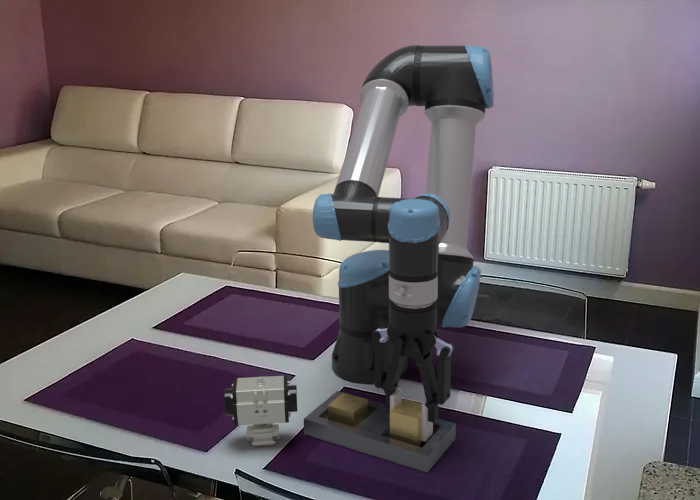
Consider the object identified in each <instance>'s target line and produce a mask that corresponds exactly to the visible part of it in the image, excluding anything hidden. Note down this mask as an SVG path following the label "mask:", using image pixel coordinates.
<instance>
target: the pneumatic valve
mask: <svg viewBox="0 0 700 500" xmlns="http://www.w3.org/2000/svg"><path fill="white" fill-rule="evenodd" d="M290 384H291V381H290V380H288V375H273V376H271V375H270V376H263V375H262V376H254V377H252V376H251V377H236V378H235V377H234V378H233V383H232V384H231V388H225V389H224V392H223V393H224V394H223V402H224V403H223V404H224V407H223V408H224V414H225V416H227V417H228V416H232V417H231V420H232V421H233V422H234V426H246V441H248V442H251V446H252V447H254V448H255V447H269V446H273V445H275V444H276V443H277V441H276V440H279V439H280V428H279V427H280V426H279V424H286V423H290V417H292V413H297V412H298V391H297V385H296V384H292V385H290Z"/></svg>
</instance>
